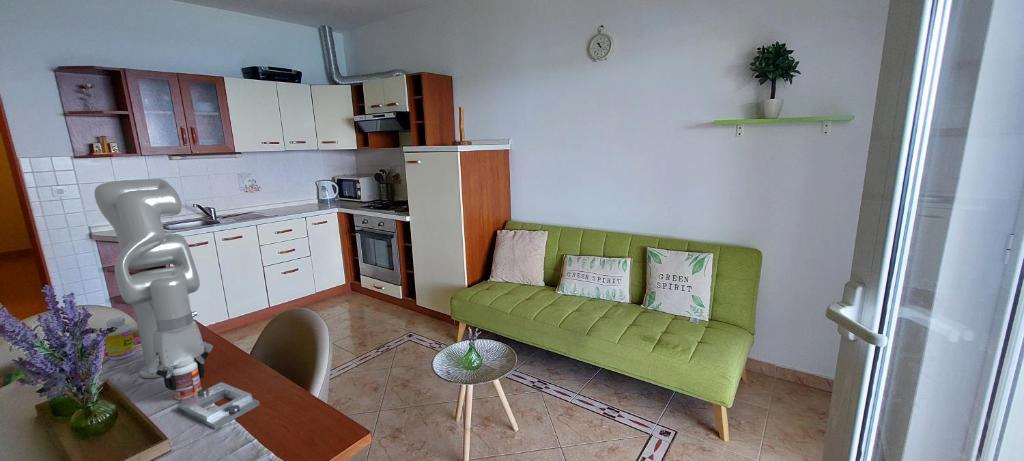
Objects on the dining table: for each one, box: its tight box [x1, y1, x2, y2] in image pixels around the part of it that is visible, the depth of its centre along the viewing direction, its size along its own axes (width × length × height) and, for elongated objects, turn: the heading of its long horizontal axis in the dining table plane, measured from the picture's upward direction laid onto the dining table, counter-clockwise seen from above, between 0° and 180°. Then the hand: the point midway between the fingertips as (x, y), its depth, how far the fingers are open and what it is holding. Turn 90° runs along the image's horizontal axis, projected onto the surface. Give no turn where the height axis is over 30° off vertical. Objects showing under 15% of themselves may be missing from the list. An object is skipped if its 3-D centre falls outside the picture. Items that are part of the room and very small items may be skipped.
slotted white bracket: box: [176, 381, 260, 430], centre depth 112 cm, size 17×11×3 cm, turn 62°
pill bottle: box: [172, 357, 203, 401], centre depth 118 cm, size 6×6×11 cm
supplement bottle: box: [105, 316, 136, 361], centre depth 142 cm, size 7×7×13 cm
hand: (186, 382), depth 118 cm, fingers closed on pill bottle, 6 cm apart
